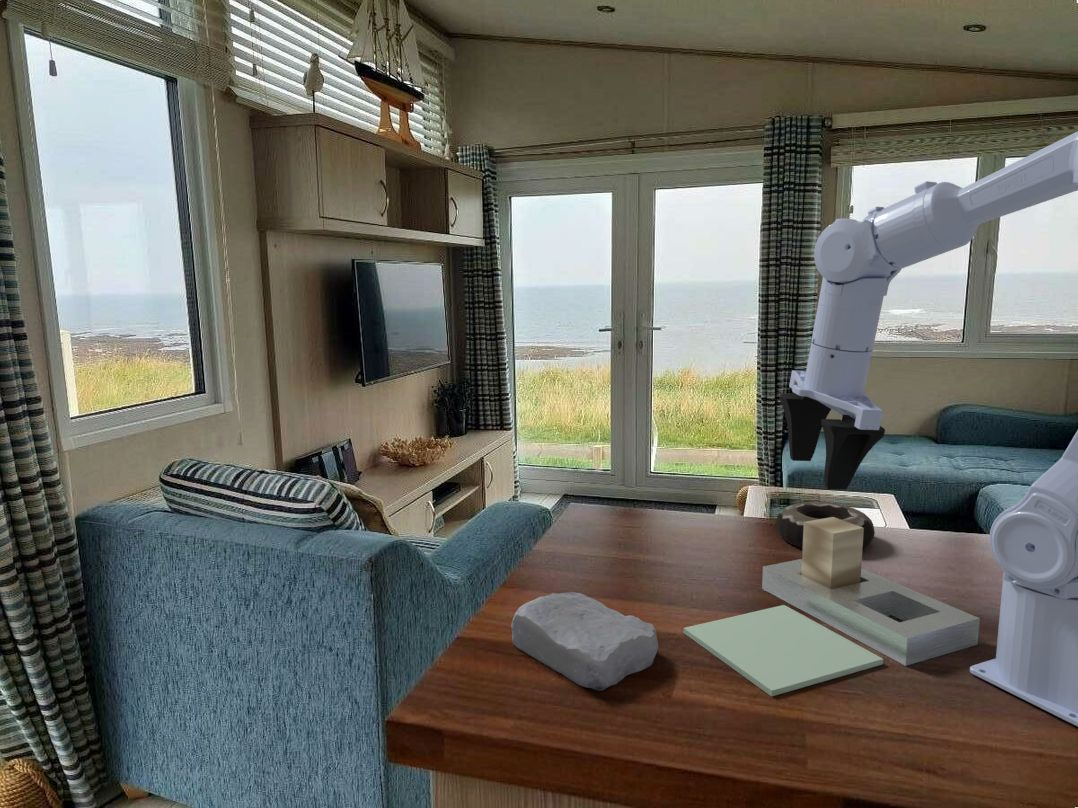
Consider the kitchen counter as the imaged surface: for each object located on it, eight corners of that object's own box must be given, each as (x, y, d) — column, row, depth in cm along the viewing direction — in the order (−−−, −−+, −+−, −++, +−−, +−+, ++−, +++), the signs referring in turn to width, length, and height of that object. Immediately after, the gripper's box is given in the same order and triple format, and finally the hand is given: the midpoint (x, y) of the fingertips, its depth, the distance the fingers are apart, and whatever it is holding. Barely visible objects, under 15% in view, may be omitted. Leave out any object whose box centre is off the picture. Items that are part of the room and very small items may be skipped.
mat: (882, 664, 63) (883, 658, 62) (771, 696, 58) (771, 690, 58) (783, 609, 73) (784, 604, 73) (683, 632, 69) (683, 627, 69)
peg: (859, 603, 75) (863, 527, 74) (829, 610, 73) (833, 533, 72) (829, 589, 78) (833, 516, 77) (800, 595, 77) (803, 521, 76)
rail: (977, 644, 66) (979, 618, 65) (905, 665, 62) (907, 638, 62) (826, 575, 82) (827, 553, 82) (762, 588, 79) (762, 566, 78)
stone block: (578, 633, 73) (499, 645, 67) (586, 586, 73) (508, 593, 66) (669, 684, 64) (589, 704, 58) (679, 631, 64) (599, 645, 57)
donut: (773, 551, 90) (774, 520, 90) (777, 523, 101) (778, 495, 100) (877, 562, 86) (879, 530, 86) (870, 531, 97) (871, 502, 96)
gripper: (772, 329, 79) (752, 448, 83) (841, 361, 65) (814, 502, 69) (833, 332, 80) (811, 449, 84) (914, 364, 66) (883, 502, 70)
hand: (817, 473), depth 76 cm, fingers open, 7 cm apart
